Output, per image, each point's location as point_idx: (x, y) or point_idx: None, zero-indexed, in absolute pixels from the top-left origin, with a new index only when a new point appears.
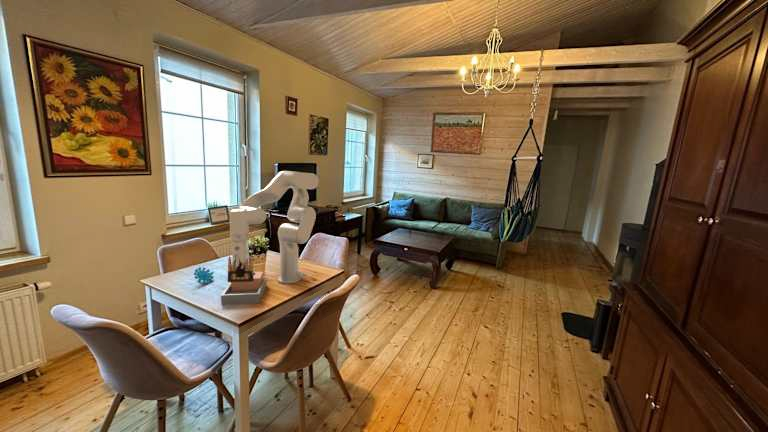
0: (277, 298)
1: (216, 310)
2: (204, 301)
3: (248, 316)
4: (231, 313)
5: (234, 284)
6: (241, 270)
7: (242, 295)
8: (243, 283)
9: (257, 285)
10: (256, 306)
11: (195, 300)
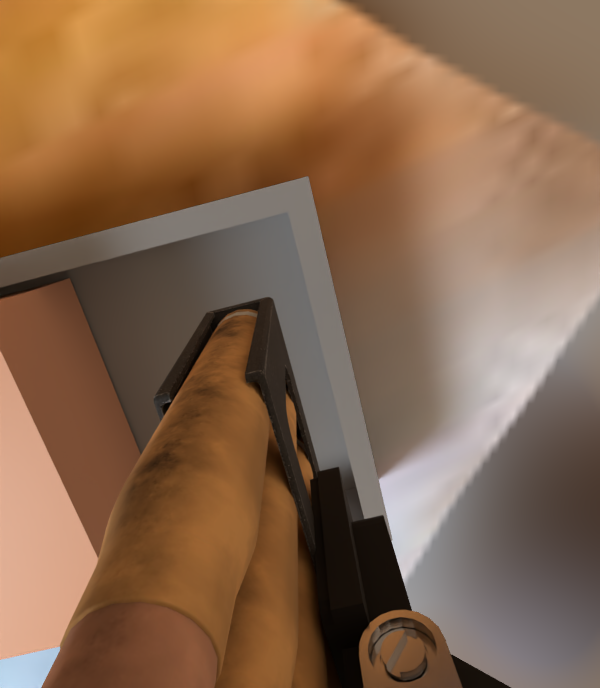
0: (163, 15)
1: (468, 468)
2: None
3: (574, 162)
4: (516, 336)
5: None
6: (387, 603)
7: (348, 355)
8: (102, 473)
9: (54, 317)
10: (377, 176)
11: None
